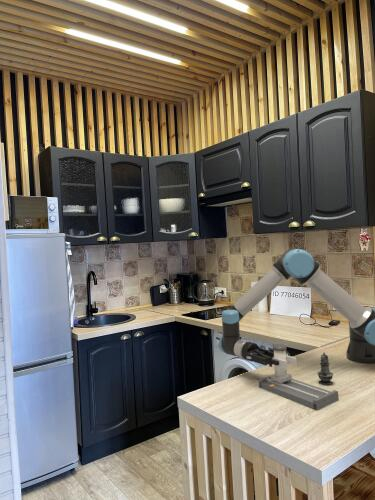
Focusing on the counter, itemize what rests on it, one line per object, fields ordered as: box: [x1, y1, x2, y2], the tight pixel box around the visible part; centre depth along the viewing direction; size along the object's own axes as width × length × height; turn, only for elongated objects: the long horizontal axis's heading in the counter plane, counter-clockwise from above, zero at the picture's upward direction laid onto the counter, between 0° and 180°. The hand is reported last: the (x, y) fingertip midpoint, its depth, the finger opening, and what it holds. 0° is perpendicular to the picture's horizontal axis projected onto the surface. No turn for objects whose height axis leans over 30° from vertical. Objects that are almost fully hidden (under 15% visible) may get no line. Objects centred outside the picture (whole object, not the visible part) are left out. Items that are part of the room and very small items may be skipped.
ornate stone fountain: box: [317, 351, 334, 387], centre depth 140 cm, size 6×6×12 cm
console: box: [258, 374, 340, 411], centre depth 132 cm, size 12×26×3 cm, turn 34°
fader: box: [270, 343, 293, 383], centre depth 137 cm, size 6×5×13 cm
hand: (291, 363), depth 133 cm, fingers closed on fader, 4 cm apart
